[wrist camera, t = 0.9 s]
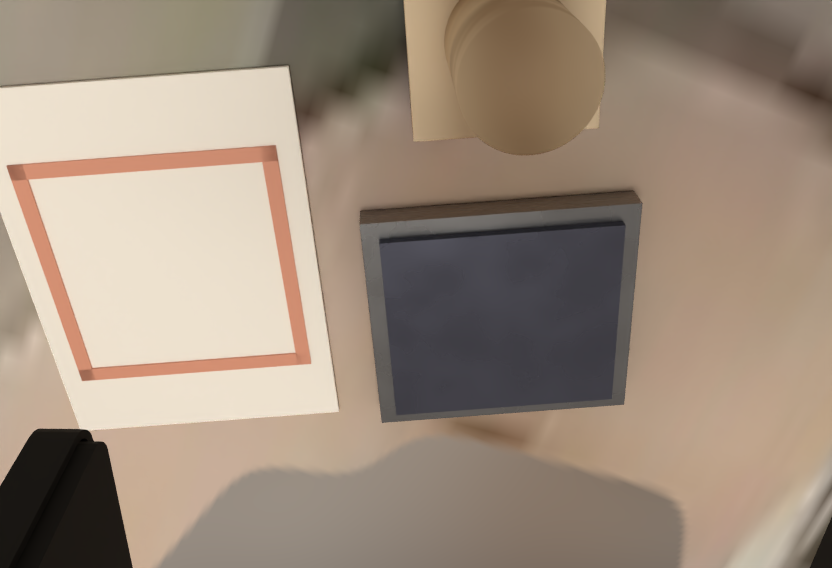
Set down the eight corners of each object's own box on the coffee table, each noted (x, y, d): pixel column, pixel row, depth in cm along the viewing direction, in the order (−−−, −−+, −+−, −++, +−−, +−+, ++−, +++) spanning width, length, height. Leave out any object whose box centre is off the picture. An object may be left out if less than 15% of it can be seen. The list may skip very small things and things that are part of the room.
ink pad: (633, 190, 31) (645, 207, 30) (617, 388, 36) (626, 410, 35) (360, 211, 31) (359, 229, 30) (381, 405, 36) (381, 428, 35)
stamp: (588, -85, 26) (661, -52, 19) (579, 101, 30) (640, 186, 23) (398, -71, 26) (403, -33, 19) (410, 114, 30) (419, 202, 23)
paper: (288, 65, 28) (287, 67, 28) (338, 408, 36) (338, 413, 36) (-42, 89, 28) (-46, 92, 28) (82, 428, 36) (80, 432, 36)
